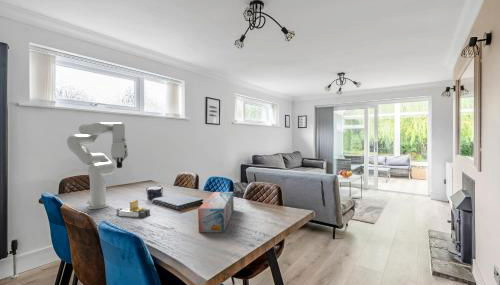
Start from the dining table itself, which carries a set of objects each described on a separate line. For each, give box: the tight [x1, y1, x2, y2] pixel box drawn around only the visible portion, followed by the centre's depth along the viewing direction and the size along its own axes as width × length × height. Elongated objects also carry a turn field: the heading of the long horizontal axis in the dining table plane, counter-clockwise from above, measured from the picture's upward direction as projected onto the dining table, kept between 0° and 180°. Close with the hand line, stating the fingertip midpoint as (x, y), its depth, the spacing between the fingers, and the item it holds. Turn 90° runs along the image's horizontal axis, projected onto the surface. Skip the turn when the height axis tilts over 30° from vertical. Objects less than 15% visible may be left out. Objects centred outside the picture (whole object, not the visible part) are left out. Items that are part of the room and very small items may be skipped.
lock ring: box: [129, 199, 146, 212], centre depth 156 cm, size 6×7×6 cm
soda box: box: [197, 191, 235, 233], centre depth 145 cm, size 41×14×13 cm, turn 177°
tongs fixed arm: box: [122, 207, 151, 217], centre depth 158 cm, size 18×3×3 cm, turn 77°
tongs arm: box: [116, 208, 147, 219], centre depth 156 cm, size 22×5×3 cm, turn 76°
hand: (119, 167), depth 167 cm, fingers closed
